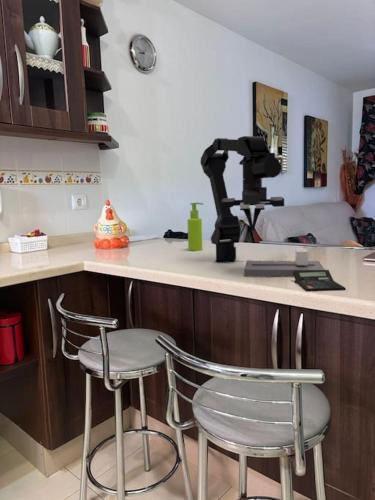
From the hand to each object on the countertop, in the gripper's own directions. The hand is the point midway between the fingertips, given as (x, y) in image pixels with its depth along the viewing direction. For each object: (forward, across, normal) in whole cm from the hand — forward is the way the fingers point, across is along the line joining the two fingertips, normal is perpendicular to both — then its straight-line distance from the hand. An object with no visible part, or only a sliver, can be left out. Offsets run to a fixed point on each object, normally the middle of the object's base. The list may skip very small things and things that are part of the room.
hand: (252, 230), depth 118 cm
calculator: (+12, +17, -20) cm, 29 cm away
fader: (+9, +14, -4) cm, 18 cm away
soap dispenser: (+12, -25, +39) cm, 48 cm away
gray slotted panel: (+12, +9, -4) cm, 15 cm away
